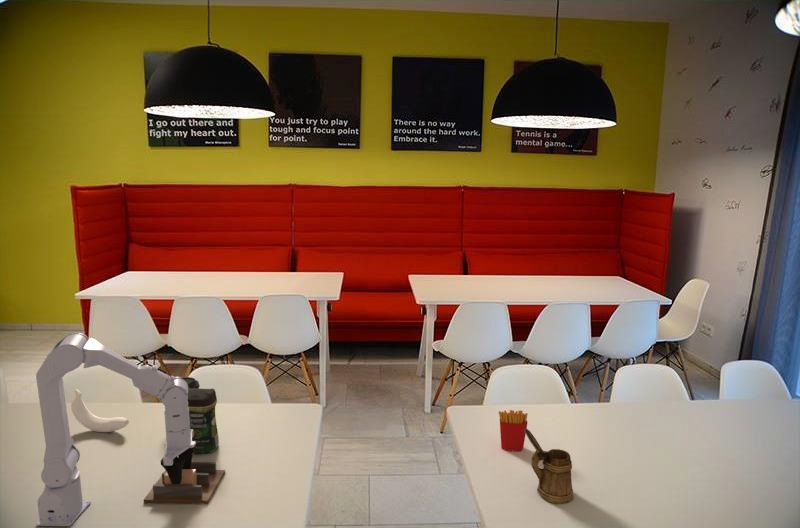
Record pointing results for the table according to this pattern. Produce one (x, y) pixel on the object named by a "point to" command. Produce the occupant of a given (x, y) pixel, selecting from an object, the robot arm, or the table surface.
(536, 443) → the wooden mug
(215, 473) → the slot rack
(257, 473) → the table surface
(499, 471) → the table surface
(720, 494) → the table surface
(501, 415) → the french fries
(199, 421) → the coffee jar
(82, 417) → the banana
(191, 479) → the salmon rectangular prism
